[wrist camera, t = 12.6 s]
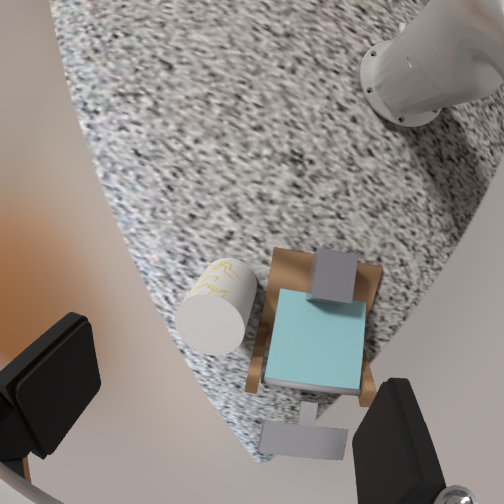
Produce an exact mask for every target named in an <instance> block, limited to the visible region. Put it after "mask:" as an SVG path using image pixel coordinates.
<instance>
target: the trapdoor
mask: <svg viewBox="0 0 504 504" xmlns="http://www.w3.org/2000/svg"><path fill="white" fill-rule="evenodd" d="M306 295H307V293H305V292H299V291H293V290H287V289H282V288H281V289H280V293H279V299H278V305H277V311H276V316H275V322H274V328H273V333H272V339H271V344H270V350H269V355H268V361H267V366H266V371H265V376H262V379H261V383H262V384H268V385H274V386H280V387H286V388H293V389H300V390H308V391H316V392H324V393H333V394H343V395H355V396H360V394H361V388H359V385H360V376H361V366H362V356H363V344H364V330H365V312H366V302H360V301H354V300H352V304H348V305H344V306H338V305H332V304H326V303H320V302H313V301H307V300H306ZM317 407H318V403H311V402H303V401H302V402H301V405H300V410H299V416H298V421H297V424H289V423H282V422H275V421H268V420H263V424H262V429H261V434H260V439H259V444H258V451H259V452H263V453H270V454H277V455H284V456H293V457H303V458H314V459H328V460H329V459H330V460H343V457H344V451H345V446H346V440H347V434H348V429H337V428H325V427H314V425H315V419H316V413H317Z"/></svg>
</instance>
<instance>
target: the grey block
mask: <svg viewBox="0 0 504 504" xmlns="http://www.w3.org/2000/svg"><path fill="white" fill-rule="evenodd" d="M357 259H358V255H357V254H351V253H346V252H341V251H335V250H329V249H324V248H318V249H317V251H316V252H315V253H314V255H313V257H312V263H311V270H310V276H309V283H308V289H307V295H306V300H307V301H313V302H320V303H326V304H332V305H338V306H344V305H348V304H352V299H353V291H354V284H355V276H356V268H357Z"/></svg>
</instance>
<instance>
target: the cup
mask: <svg viewBox="0 0 504 504" xmlns="http://www.w3.org/2000/svg"><path fill="white" fill-rule="evenodd" d="M256 291H257V280H256V277H255V275H254V273H253V271H252V270H251V269H250V268H249V267H248V266H247V265H246V264H245V263H243V262H241V261H239V260H237V259H233V258H223V259H219V260H216V261H214V262H213V263H211V264H210V265H209V266H208V267H207V269H206V270H205V271H204V273H203V274H202V275H201V277H200V278H199V279H198V281H197V282H196V283H195V285H194V286H193V288H192V289H191V290H190V292H189V293H188V294H187V296H186V297H185V299H184V300H183V301H182V303H181V304H180V305H179V307H178V309H177V311H176V314H175V325H176V329H177V331H178V334H179V335H180V337H181V338H182V340H183V341H184V342H185V343H186V344H187V345H188V346H190V347H191V348H192V349H194V350H196V351H198V352H200V353H203V354H207V355H214V356H217V355H224V354H227V353H230V352H232V351H233V350H235V349H236V348H237V347H238V346H239V345H240V344H241V342H242V340H243V337H244V334H245V330H246V327H247V323H248V320H249V316H250V313H251V309H252V306H253V302H254V298H255V295H256Z"/></svg>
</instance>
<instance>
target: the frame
mask: <svg viewBox="0 0 504 504" xmlns="http://www.w3.org/2000/svg"><path fill="white" fill-rule="evenodd" d="M313 255H314V254H310V253H304V252H299V251H293V250H287V249H282V248H276V247H274V251H273V257H272V263H271V269H270V274H269V280H268V286H267V291H266V297H265V303H264V308H263V314H262V319H261V320H260V323H259V327H258V332H257V337H256V341H255V346H254V350H253V355H252V359H251V364H250V368H249V372H248V377H247V382H246V387H245V392H249V393H255V394H256V392H257V388H258V383H259V378H260V373H261V367H262V361H263V355H264V350H265V347H268V348H270V344H271V339H272V333H273V328H274V322H275V316H276V311H277V305H278V299H279V293H280V289H281V288H282V289H287V290H293V291H299V292H305V293H307V289H308V283H309V276H310V270H311V263H312V257H313ZM382 269H383V268H382V267H381V266H377V265H371V264H366V263H360V262H357V268H356V276H355V284H354V291H353V299H352V300H354V301H360V302H366V312H365V323H366V320H367V318H368V315H369V312H370V309H371V305H372V302H373V299H374V296H375V293H376V290H377V286H378V283H379V280H380V276H381V273H382ZM359 388H361V394H360V396H358V398H359V403H360V407H370V406H371V404H372V402H373V400H374V398H375V396H376V394H377V392H376V388H375V385H374V381H373V378H372V374H371V371H370V367H369V363H368V360H367V356H366V353H365V349H364V346H363V356H362V366H361V376H360V385H359Z"/></svg>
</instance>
